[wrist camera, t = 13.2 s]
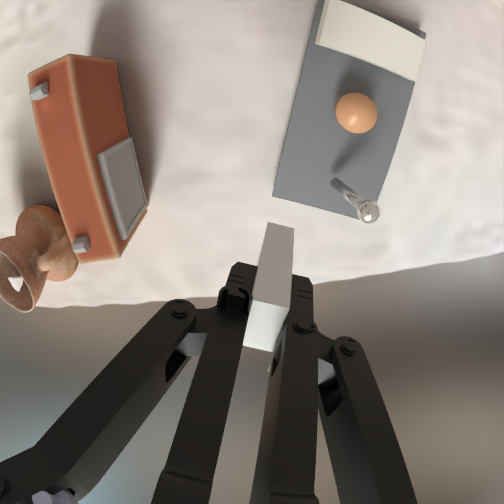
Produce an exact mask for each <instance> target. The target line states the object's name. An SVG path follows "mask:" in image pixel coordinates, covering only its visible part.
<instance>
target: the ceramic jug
mask: <svg viewBox="0 0 504 504" xmlns="http://www.w3.org/2000/svg"><path fill="white" fill-rule="evenodd" d="M78 263H79V261H78V259H77V256H76V254H75V252H74V251H73V248H72V244H71V241H70V238H69V236H68V233H67V230H66V228H65V225H64V222H63V219H62V216H61V214H59V213H58V212H57V211H56V210H54V209H53V208H51V207H48V206H45V205H32V206H30V207H28V208H26V209H25V210H24V211H23V212H22V213H21V214H20V216H19V218H18V220H17V224H16V236H10V237H6V238H3V239H0V297H1V298H2V299H3V300H4V301H5V302H6V303H7V304H9V305H10V306H12V307H14V308H15V309H16V310H19V311H21V312H30V311H31V310H32V309H33V308H34V307H35V305H36V303H37V301H38V299H39V297H40V295H41V293H42V290H43V287H44V285H45V281H46V279H47V280H50V281H64V280H66V279H68V278H70V277H71V276H72V275H73V274H74V272H75V271H76V269H77V266H78ZM7 277H12V278H18V277H20V278H21V277H22V278H23V279H24V280H23V285H22V287H21V289H20V291H19V292H18V291H16V290H15V289H14V288H13V287H12V285H11V283H10V281H9V280H8V278H7Z"/></svg>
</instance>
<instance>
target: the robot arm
mask: <svg viewBox="0 0 504 504" xmlns="http://www.w3.org/2000/svg"><path fill="white" fill-rule="evenodd" d="M293 245H294V228H290V227H286V226H282V225H278V224H274V223H270V222H268V224H267V228H266V232H265V236H264V240H263V244H262V248H261V252H260V256H259V260H258V264H257V266H254V265H249V264H245V263H241V262H237V263H236V264H235V265H233V266H232V268H231V270H230V273H229V276H228V280H227V282H226V285H225V286H224V287H222V288H221V290H220V291H219V295H218V301H217V305H216V306H214V307H212V308H209V309H196V308H195V306H194V305H193V304H192V303H190V302H189V301H186V300H183V299H174V300H171V301H169V302H167V303H166V304H165V305H164V306H163V307H162V308H161V309H160V310H159V311H158V312H157V313H156V314H155V315H154V316H153V317H152V318H151V319H150V320H149V321H148V323H147V324H146V325H145V326H144V327H143V328H142V329H141V330H140V331H139V332H138V333H137V334H136V335H135V336H134V337H133V338H132V339H131V340H130V341H129V343H128V344H127V345H126V346H125V347H124V348H123V349H122V350H121V351H120V352H119V353H118V354H117V355H116V357H114V359H113V360H112V361H111V362H110V363H109V364H108V365H107V366H106V367H105V368H104V369H103V370H102V371H101V372H100V374H99V375H98V376H97V377H96V378H95V379H94V380H93V381H92V382H91V383H90V384H89V385H88V387H87V388H86V389H85V390H84V391H83V392H82V393H81V394H80V395H79V397H77V399H76V400H75V401H74V402H73V403H72V404H71V405H70V406H69V407H68V409H67V410H66V411H65V412H64V413H63V414H62V415H61V417H59V419H58V420H57V421H56V422H55V423H54V424H53V425H52V427H50V429H49V430H48V431H47V432H46V433H45V434H44V436H43V437H42V438H41V439H40V440H39V441H38V442H37V443H36V444H35V446H34V447H32V448H29V449H27V450H25V451H23V452H21V453H19V454H17V455H15V456H13V457H11V458H9V459H6V460H4V461H2V462H0V504H78V501H79V500H81V499H82V498H83V497H85V496H86V495H87V494H88V493H89V492H90V491H91V490H92V489H93V488H94V487H95V486H96V485H97V483H98V482H99V481H100V480H101V478H102V477H103V476H104V474H105V473H106V472H107V470H108V469H109V468H110V466H111V465H112V464H113V462H114V461H115V460H116V458H117V457H118V455H119V454H120V453H121V452H122V450H123V449H124V448H125V446H126V445H127V444H128V442H129V441H130V440H131V438H132V437H133V436H134V434H135V433H136V432H137V430H138V429H139V428H140V426H141V425H142V424H143V422H144V421H145V420H146V418H147V417H148V415H149V414H150V413H151V412H152V410H153V409H154V408H155V406H156V405H157V403H158V402H159V401H160V399H161V398H162V397H163V395H164V394H165V393H166V391H167V390H168V388H169V387H170V386H171V385H172V383H173V382H174V380H175V379H176V378H177V376H178V375H179V374H180V372H181V371H182V370H183V368H184V367H185V365H186V364H187V363H188V361H189V360H190V358H191V357H192V356H200V358H199V361H198V365H197V368H196V371H195V374H194V377H193V380H192V383H191V386H190V389H189V392H188V395H187V398H186V402H185V405H184V408H183V411H182V414H181V417H180V420H179V424H178V427H177V430H176V433H175V436H174V439H173V443H172V446H171V449H170V452H169V455H168V459H167V462H166V465H165V467H164V469H163V470H162V472H161V474H160V476H159V479H158V482H157V485H156V489H155V492H154V495H153V498H152V502H151V504H208V503H209V499H210V494H211V489H212V483H213V477H214V473H215V468H216V464H217V459H218V455H219V450H220V446H221V442H222V437H223V432H224V428H225V424H226V419H227V414H228V410H229V405H230V401H231V396H232V391H233V387H234V383H235V378H236V373H237V368H238V364H239V359H240V355H241V350H242V345H244V346H248V347H252V348H257V349H261V350H266V351H270V352H273V350H274V348H275V352H274V356H273V358H272V361H271V363H270V366H269V368H268V370H267V372H270V374H269V381H268V389H267V396H266V403H265V410H264V417H263V424H262V431H261V436H260V443H259V449H258V456H257V463H256V468H255V474H254V480H253V486H252V492H251V498H250V503H249V504H319V500H318V498H317V497H316V496H315V494H314V480H315V465H316V444H317V419H318V410H319V414H320V418H321V421H322V426H323V430H324V434H325V438H326V443H327V447H328V451H329V455H330V460H331V464H332V468H333V473H334V477H335V481H336V486H337V490H338V495H339V499H340V504H417V500H416V497H415V494H414V490H413V487H412V484H411V480H410V477H409V474H408V471H407V468H406V464H405V462H404V458H403V455H402V452H401V449H400V446H399V444H398V441H397V438H396V435H395V432H394V429H393V426H392V424H391V421H390V418H389V415H388V412H387V410H386V407H385V405H384V401H383V399H382V396H381V393H380V391H379V388H378V386H377V383H376V380H375V378H374V375H373V373H372V370H371V368H370V365H369V363H368V360H367V358H366V355H365V353H364V350H363V348H362V346H361V345H360V343H358V342H357V341H356V340H355V339H353V338H351V337H346V336H343V337H339V338H337V339H336V340H332V339H330V338H328V337H326V336H324V335H323V334H321V333H320V332H319V331H318V329H317V325H316V324H315V323H314V321H313V285H312V283H311V281H310V280H309V278H307V277H302V276H298V275H294V274H292V264H293Z"/></svg>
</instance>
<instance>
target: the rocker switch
mask: <svg viewBox="0 0 504 504" xmlns="http://www.w3.org/2000/svg"><path fill="white" fill-rule="evenodd" d="M425 41H426V40H424V39H422V38H420V37H419V36H417V35H415V34H413V33H411V32H409V31H408V30H406V29H404V28H402V27H400V26H398V25H396V24H394V23H392V22H390V21H388V20H386V19H384V18H381V17H379V16H377V15H375V14H373V13H370V12H368V11H366V10H363V9H361V8H359V7H356V6H354V5H351V4H349V3H346V2H343V1H341V0H325V2H324V6H323V11H322V15H321V19H320V24H319V28H318V32H317V36H316V41H315V44H317V45H320V46H323V47H327V48H330V49H333V50H336V51H339V52H342V53H345V54H348V55H350V56H353V57H356V58H359V59H361V60H364V61H366V62H369V63H371V64H374V65H376V66H379V67H381V68H384V69H386V70H388V71H391V72H393V73H395V74H397V75H400V76H402V77H404V78H406V79H408V80H411V81H416V80H417V76H418V72H419V68H420V63H421V59H422V55H423V50H424V46H425Z"/></svg>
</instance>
